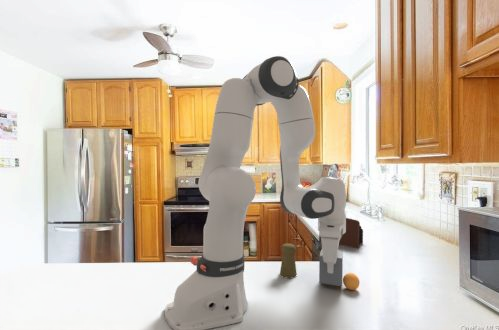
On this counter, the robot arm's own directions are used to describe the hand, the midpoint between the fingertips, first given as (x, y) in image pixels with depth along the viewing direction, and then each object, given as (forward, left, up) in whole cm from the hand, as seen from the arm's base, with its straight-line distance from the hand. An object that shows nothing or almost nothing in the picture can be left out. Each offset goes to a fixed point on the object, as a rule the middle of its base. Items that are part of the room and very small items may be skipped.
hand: (331, 267), depth 89 cm
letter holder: (+44, +31, -6) cm, 54 cm away
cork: (-7, +14, -6) cm, 16 cm away
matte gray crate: (0, 0, -4) cm, 4 cm away
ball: (+3, -5, -3) cm, 7 cm away
